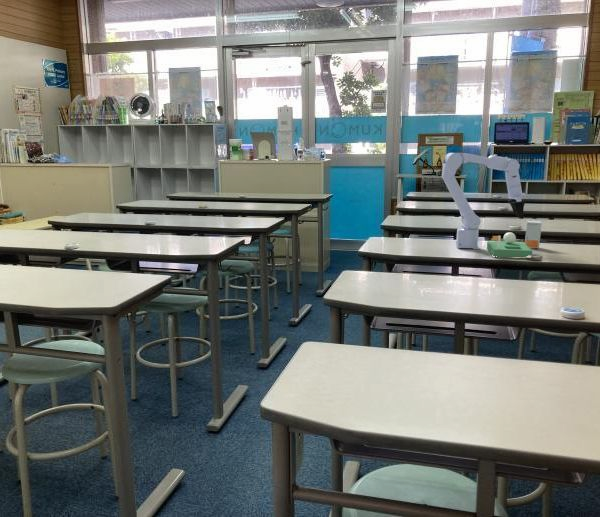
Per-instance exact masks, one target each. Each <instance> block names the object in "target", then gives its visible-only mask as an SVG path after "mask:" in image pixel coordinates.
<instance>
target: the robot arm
mask: <svg viewBox="0 0 600 517" xmlns="http://www.w3.org/2000/svg"><path fill="white" fill-rule="evenodd" d="M441 162H442V169H441V170H442V171H441V178H442V180H443V182H444V183H445V185H446V188H447V189H448V191H449V194H450V195H451V197H452V199H453V201H454V202H455V205H456V207H457V208H458V210H459V214H460V216H461V223H462V227H461V228H460V227H458V228H457V230H456V240H455V246H456V245H457V246H456V248H457V249H459V248H473V249H472V250H480V247H479V244H478V243H479V230H480V228H479V227H480V225H481V217H479V215H477V214H476V213H475V212H474V210H473V208H472V207H471V206H470V203H469V202H468V199H467V198H466V196H465V194H464V192H463V191H462V188H461V186H460V185H459V183H458V180H457V179H456V177H455V176H456V172H457V171H458V169H459V168H460V167H461V165H462V164H467V163H474V164H475V163H476V164H483V165H485V166H486V167H487V169H491V170H492V169H493V170H497V171H504V176H505V183H506V190H507V195H508V197H507V198H508V200H507V202H508V203H509V205H510V206H511V209H512V212H513V214H514V215H516V217H517V218H521V217H524V209H525V205H526V204H525V203H526V200H522V197H524V196H526V193H525V192H523V190H522V183H521V177H520V172H519V169H520V166H521V164H520V163H519V161H518V160H517V159H515V158H510V157H508V156H505V157H504V156H498V154H491V155H489V156H488V157H487V156H482V155H477V154H472V153H466V152H463V153H462V152H448V153H446V155H445V156H444V158H443V160H442V161H441Z"/></svg>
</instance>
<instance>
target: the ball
mask: <svg viewBox="0 0 600 517" xmlns="http://www.w3.org/2000/svg"><path fill="white" fill-rule="evenodd" d="M516 239H517V236H516V234H514V233H513V232H510V231H509V232H505V234H504V235H503V242H506V243H508V244H511V243H513V242H516Z"/></svg>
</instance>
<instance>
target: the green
mask: <svg viewBox="0 0 600 517" xmlns="http://www.w3.org/2000/svg"><path fill="white" fill-rule="evenodd" d="M501 238H502V236H501V235H492V240H486V242H487V243H486V250H487V249H488V250H489V251H488V250H487V251H488V253H489V254H490V253H491V254H492V255H493V256H495V257H496V256H497V257H526V256H528V255H532V256H533V250H532V248H529V247H528V246H526V245H525V242H523V241H514V242H513V243H511V244H508V243H506V242H505V241H501ZM491 254H490V255H491ZM492 255H491V256H492ZM493 256H492V257H493Z"/></svg>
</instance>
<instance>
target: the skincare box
mask: <svg viewBox="0 0 600 517" xmlns="http://www.w3.org/2000/svg"><path fill="white" fill-rule="evenodd" d="M542 223H543V222H542V221H538V220H537V221H536V220H535V221H533V220H528V221H527V222H526V226H525V227H526V228H525V237H524V238H525V239H524V244H525V245H526V246H528V247H529V248H530V249H533V248H538V249H539V248H540V244H541V243H540V242H541V234H542V233H541V232H542V225H543V224H542Z"/></svg>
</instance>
